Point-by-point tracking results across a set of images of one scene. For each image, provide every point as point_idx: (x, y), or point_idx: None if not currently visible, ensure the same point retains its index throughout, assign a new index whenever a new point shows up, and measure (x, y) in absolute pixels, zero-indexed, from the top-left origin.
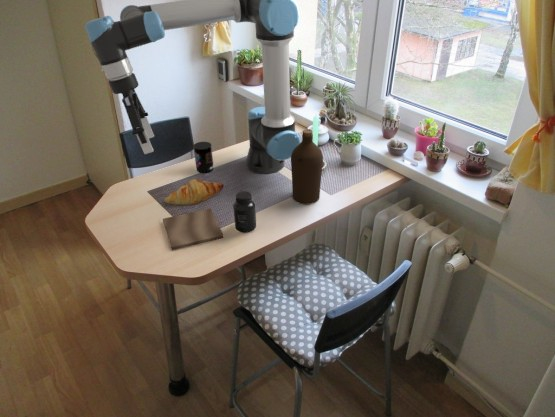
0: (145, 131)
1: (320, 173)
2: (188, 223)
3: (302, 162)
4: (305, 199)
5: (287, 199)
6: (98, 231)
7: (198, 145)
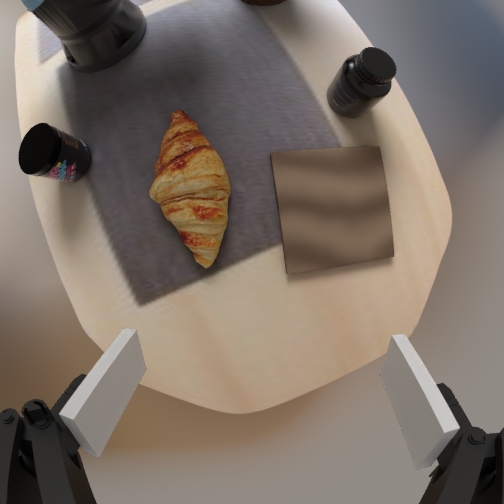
0: (443, 424)
1: None
2: (323, 213)
3: None
4: None
5: (261, 13)
6: (283, 397)
7: (31, 159)
